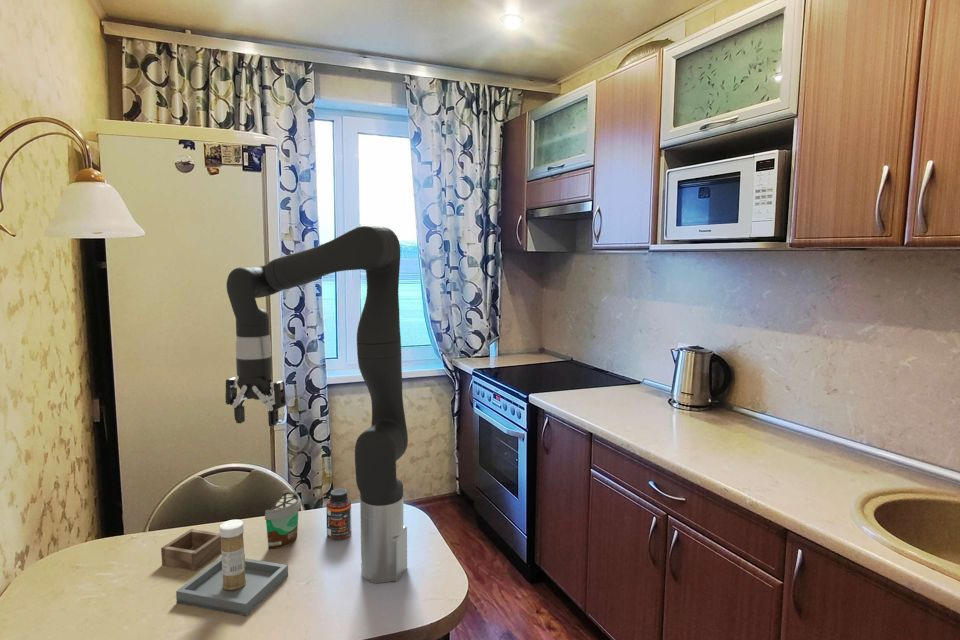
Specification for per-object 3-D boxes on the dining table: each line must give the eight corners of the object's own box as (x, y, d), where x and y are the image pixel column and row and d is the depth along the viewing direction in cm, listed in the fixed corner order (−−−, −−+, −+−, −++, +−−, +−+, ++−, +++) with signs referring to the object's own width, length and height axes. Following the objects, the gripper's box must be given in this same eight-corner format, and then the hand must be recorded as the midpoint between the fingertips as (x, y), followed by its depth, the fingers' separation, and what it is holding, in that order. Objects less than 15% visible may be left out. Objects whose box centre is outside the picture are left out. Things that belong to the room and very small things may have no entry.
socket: (224, 550, 132) (223, 533, 131) (196, 570, 123) (195, 553, 122) (191, 544, 134) (191, 528, 133) (162, 564, 125) (161, 548, 125)
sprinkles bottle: (246, 577, 119) (244, 517, 118) (245, 589, 115) (243, 527, 113) (222, 581, 118) (220, 520, 116) (221, 593, 113) (218, 530, 112)
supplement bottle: (328, 543, 135) (327, 498, 134) (325, 531, 141) (324, 488, 139) (353, 538, 138) (352, 494, 136) (349, 527, 143) (348, 485, 142)
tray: (288, 576, 121) (287, 565, 121) (246, 616, 108) (245, 604, 107) (224, 565, 125) (224, 554, 125) (176, 602, 112) (176, 591, 111)
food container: (292, 552, 131) (290, 511, 130) (265, 552, 131) (264, 511, 130) (309, 527, 143) (308, 489, 142) (285, 526, 143) (284, 489, 142)
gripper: (291, 353, 129) (293, 422, 131) (237, 350, 133) (240, 417, 135) (271, 359, 122) (274, 431, 124) (215, 356, 126) (218, 426, 128)
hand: (256, 424), depth 129 cm, fingers open, 8 cm apart
